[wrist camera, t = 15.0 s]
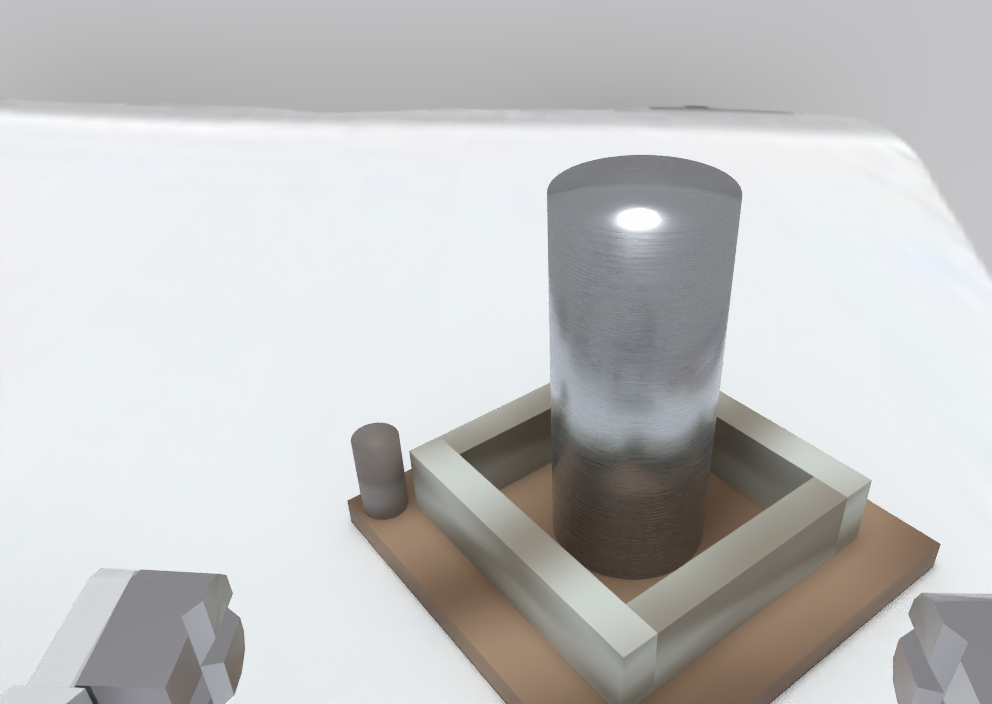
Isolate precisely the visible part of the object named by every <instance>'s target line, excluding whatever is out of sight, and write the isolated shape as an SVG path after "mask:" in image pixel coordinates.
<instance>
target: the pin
mask: <svg viewBox="0 0 992 704" xmlns="http://www.w3.org/2000/svg"><path fill="white" fill-rule="evenodd" d="M741 202H742V191H741V188H740V186H739V184H738V183H737V182H736V181H735V180H734V179H733V178H732V177H731V176H729V175H728V174H726V173H725V172H723V171H721V170H719V169H717V168H714V167H712V166H709V165H706V164H703V163H700V162H696V161H692V160H687V159H682V158H676V157H668V156H656V155H629V156H617V157H609V158H603V159H597V160H593V161H589V162H585V163H582V164H579V165H576V166H574V167H571V168H569V169H567V170H565V171H564V172H562V173H560V174H559V175H558V176H556V177H555V178H554V179H553V180H552V182H551V183H550V184H549V187H548V190H547V212H548V269H549V327H550V384H551V441H552V499H553V528H554V533H555V536H556V539H557V540H558V542H559V544H560V546H561V547H563V548H564V549H565V550H566V551H567V552H568V553H569V554H570V555H571V556H573V557H574V558H575V559H576V560H577V561H578V562H579V563H580V564H581V565H583V566H584V567H585V568H587V569H589V570H591V571H593V572H595V573H598V574H601V575H604V576H608V577H612V578H618V579H628V580H639V579H649V578H655V577H659V576H662V575H665V574H668V573H670V572H673V571H675V570H676V569H678V568H680V567H681V566H683V565H684V564H685V563H687V562H688V561H689V560H690V559H691V558H692V557H693V556H694V554H695V553H696V551H697V550H698V548H699V546H700V543H701V540H702V536H703V527H704V519H705V510H706V502H707V493H708V484H709V476H710V467H711V459H712V450H713V442H714V433H715V424H716V416H717V407H718V399H719V390H720V382H721V373H722V365H723V356H724V347H725V339H726V330H727V322H728V313H729V305H730V296H731V287H732V279H733V270H734V262H735V253H736V245H737V236H738V227H739V219H740V210H741Z"/></svg>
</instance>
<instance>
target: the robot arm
mask: <svg viewBox="0 0 992 704" xmlns="http://www.w3.org/2000/svg"><path fill="white" fill-rule="evenodd" d="M232 594H233V593H232V590H231V587H230V584H229V581H228V579H227V576H226V575H222V574H209V573H191V572H173V571H155V570H131V569H108V568H101V569H99V570H98V571H97V572H96V573H95V574H93V575H92V576H91V577H90V578H89V579H88V581H87V582H86V584H85V586H84V587H83V589H82V591H81V593H80V594H79V596H78V598H77V599H76V601H75V603H74V605H73V606H72V608H71V610H70V612H69V613H68V615H67V617H66V618H65V620H64V622H63V624H62V625H61V627H60V629H59V630H58V632H57V634H56V636H55V637H54V639H53V641H52V642H51V644H50V646H49V648H48V649H47V651H46V653H45V655H44V656H43V658H42V660H41V661H40V663H39V665H38V667H37V668H36V670H35V672H34V673H33V675H32V677H31V679H30V680H29V682H28V684H27V685H14V686H13V687H11V688H10V689H8V690H7V691H6V692H4V693H3V694H2V695H0V704H225V703H226V702H227V701H228V700H229V699H231V698H232V697H233V696H234V694H235V691H236V688H237V685H238V682H239V679H240V676H241V673H242V666H243V659H244V652H245V642H244V630H243V627H242V623H241V619H240V617H239V616H237V615H236V614H235V613H234V612H232V611H231V610H230V609H228V608H227V607H228V605H229V602H230V599H231V597H232ZM909 617H910V619H911V622H912V624H913V627H914V629H913V630H912V631H910V632H909V633H907V634H906V635H904V636H903V637H901V638H900V639H899V641H898V644H897V648H896V651H895V654H894V657H893V683H894V688H895V693H896V698H897V702H898V704H992V594H955V593H921V594H920V595H919V596H918V597H917V598H915V599H914V601H913V604H912V606H911V609H910V611H909Z"/></svg>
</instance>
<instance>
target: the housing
mask: <svg viewBox="0 0 992 704" xmlns="http://www.w3.org/2000/svg"><path fill="white" fill-rule="evenodd" d="M351 444H352V450H353V455H354V461H355V466H356V471H357V477H358V482H359V488H360V493H361V494H360V495H358V496H356V497H354V498H352V499H350V500H348V506H349V511H350V516H351V521H352V522H353V523H354V525H355V526H356V527H357V528H358V529H359V530H360V532H361V533H362V534H363V535H364V536H365V538H366V539H367V540H368V541H369V542H370V543H371V545H372V546H373V547H374V548H375V549H376V550H377V552H378V553H379V554H380V555H381V556H382V558H383V559H384V560H385V561H386V562H387V563H388V565H389V566H390V567H391V568H392V569H393V570H394V572H395V573H396V574H397V575H398V576H399V578H400V579H401V580H402V581H403V582H404V583H405V585H406V586H407V587H408V588H409V589H410V590H411V592H412V593H413V594H414V595H415V596H416V597H417V599H418V600H419V601H420V602H421V603H422V605H423V606H424V607H425V608H426V609H427V610H428V612H429V613H430V614H431V615H432V616H433V617H434V619H435V620H436V621H437V622H438V623H439V625H440V626H441V627H442V628H443V629H444V630H445V632H446V633H447V634H448V635H449V636H450V637H451V639H452V640H453V641H454V642H455V643H456V645H457V646H458V647H459V648H460V649H461V650H462V652H463V653H464V654H465V655H466V656H467V657H468V659H469V660H470V661H471V662H472V663H473V664H474V666H475V667H476V668H477V669H478V670H479V672H480V673H481V674H482V675H483V676H484V677H485V679H486V680H487V681H488V682H489V683H490V684H491V686H492V687H493V688H494V689H495V690H496V692H497V693H498V694H499V695H500V696H501V697H502V699H503V700H504V701H505V702H506V703H507V704H769V703H770V702H772V701H773V700H774V699H775V698H776V697H778V696H779V695H780V694H781V693H782V692H784V691H785V690H786V689H787V688H788V687H789V686H791V685H792V684H793V683H794V682H795V681H797V680H798V679H799V678H800V677H801V676H803V675H804V674H805V673H806V672H807V671H809V670H810V669H811V668H812V667H813V666H815V665H816V664H817V663H818V662H819V661H820V660H822V659H823V658H824V657H825V656H826V655H828V654H829V653H830V652H831V651H832V650H834V649H835V648H836V647H837V646H838V645H840V644H841V643H842V642H843V641H844V640H846V639H847V638H848V637H849V636H850V635H851V634H853V633H854V632H855V631H856V630H857V629H859V628H860V627H861V626H862V625H863V624H865V623H866V622H867V621H868V620H869V619H871V618H872V617H873V616H874V615H875V614H876V613H878V612H879V611H880V610H881V609H882V608H884V607H885V606H886V605H887V604H888V603H890V602H891V601H892V600H893V599H894V598H896V597H897V596H898V595H899V594H900V593H902V592H903V591H904V590H905V589H906V588H907V587H909V586H910V585H911V584H912V583H913V582H915V581H916V580H917V579H918V578H919V577H921V576H922V575H923V574H924V573H925V572H927V571H928V570H929V569H930V568H931V567H933V565H934V562H935V559H936V556H937V553H938V550H939V547H940V544H939V543H938V542H936V541H935V540H933V539H931V538H930V537H928V536H926V535H925V534H923V533H921V532H920V531H918V530H916V529H915V528H913V527H912V526H910V525H908V524H907V523H905V522H903V521H902V520H900V519H898V518H897V517H895V516H894V515H892V514H890V513H889V512H887V511H885V510H884V509H882V508H880V507H879V506H877V505H875V504H874V503H872V502H871V501H869V500H867V496H868V492H869V489H870V485H871V481H872V480H870V479H868V478H867V477H865V476H863V475H862V474H860V473H858V472H857V471H855V470H853V469H851V468H850V467H848V466H846V465H845V464H843V463H841V462H840V461H838V460H836V459H834V458H833V457H831V456H829V455H828V454H826V453H824V452H823V451H821V450H819V449H818V448H816V447H814V446H812V445H811V444H809V443H807V442H806V441H804V440H802V439H801V438H799V437H797V436H795V435H794V434H792V433H790V432H789V431H787V430H785V429H784V428H782V427H780V426H778V425H777V424H775V423H773V422H772V421H770V420H768V419H767V418H765V417H763V416H762V415H760V414H758V413H756V412H755V411H753V410H751V409H750V408H748V407H746V406H745V405H743V404H741V403H739V402H738V401H736V400H734V399H733V398H731V397H729V396H728V395H726V394H724V393H723V392H721V391H719V399H718V407H717V416H716V424H715V433H714V442H713V450H712V459H711V467H710V476H709V484H708V493H707V502H706V510H705V519H704V527H703V536H702V540H701V543H700V546H699V548H698V550H697V551H696V553H695V554H694V556H693V557H692V558H691V559H690V560H689V561H688V562H687V563H685V564H684V565H683V566H681V567H680V568H678V569H676V570H675V571H673V572H670V573H668V574H665V575H662V576H659V577H655V578H649V579H639V580H628V579H618V578H612V577H608V576H604V575H601V574H598V573H595V572H593V571H591V570H589V569H587V568H585V567H584V566H583V565H581V564H580V563H579V562H578V561H577V560H576V559H575V558H574V557H573V556H571V555H570V554H569V553H568V552H567V551H566V550H565V549H564V548H563V547H561V546H560V544H559V542H558V540H557V539H556V536H555V533H554V528H553V499H552V441H551V384H550V383H549V384H547V385H545V386H543V387H541V388H539V389H537V390H534V391H532V392H530V393H528V394H526V395H524V396H522V397H520V398H518V399H516V400H514V401H512V402H510V403H508V404H506V405H504V406H502V407H499V408H497V409H495V410H493V411H491V412H489V413H487V414H485V415H483V416H481V417H479V418H477V419H475V420H473V421H471V422H469V423H467V424H464V425H462V426H460V427H458V428H456V429H454V430H452V431H450V432H448V433H446V434H444V435H442V436H440V437H438V438H436V439H434V440H432V441H429V442H427V443H425V444H423V445H421V446H419V447H417V448H415V449H413V450H411V451H409V452H410V459H411V466H412V469H410V470H408V471H406V472H404V467H403V460H402V453H401V446H400V439H399V433H398V431H397V429H396V428H395V427H394V426H392V425H390V424H386V423H372V424H368V425H365V426H363V427H361V428H359V429H358V430H357V431H356V432H355V433H354V434H353V435H352V438H351Z"/></svg>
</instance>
